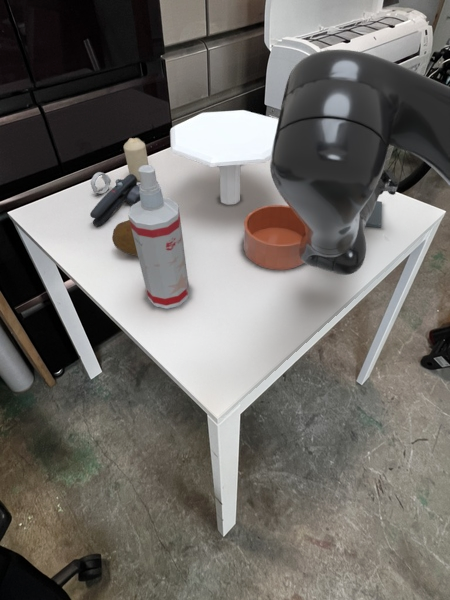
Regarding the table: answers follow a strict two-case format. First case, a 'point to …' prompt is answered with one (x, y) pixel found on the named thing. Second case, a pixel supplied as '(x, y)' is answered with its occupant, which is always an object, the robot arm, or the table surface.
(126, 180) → the can opener
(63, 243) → the table surface
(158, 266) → the spray bottle
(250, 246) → the bowl
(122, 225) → the potato
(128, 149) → the candle
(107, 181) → the wristwatch
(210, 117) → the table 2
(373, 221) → the square plate
